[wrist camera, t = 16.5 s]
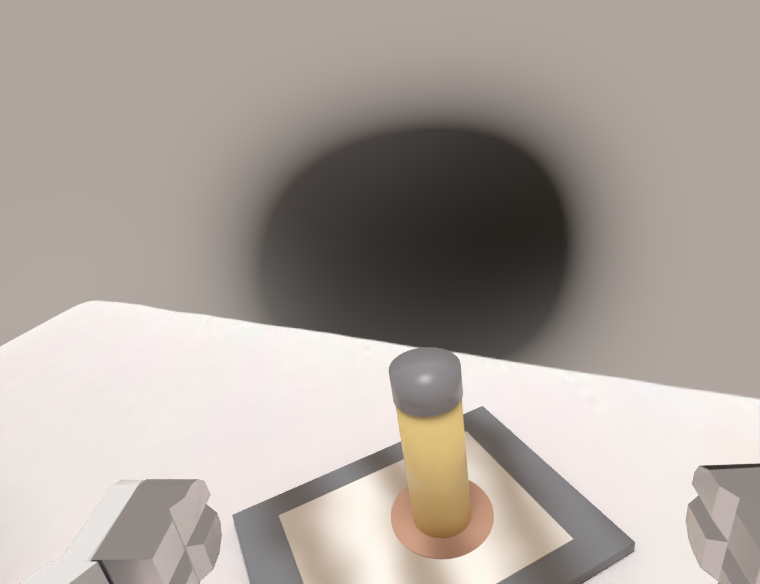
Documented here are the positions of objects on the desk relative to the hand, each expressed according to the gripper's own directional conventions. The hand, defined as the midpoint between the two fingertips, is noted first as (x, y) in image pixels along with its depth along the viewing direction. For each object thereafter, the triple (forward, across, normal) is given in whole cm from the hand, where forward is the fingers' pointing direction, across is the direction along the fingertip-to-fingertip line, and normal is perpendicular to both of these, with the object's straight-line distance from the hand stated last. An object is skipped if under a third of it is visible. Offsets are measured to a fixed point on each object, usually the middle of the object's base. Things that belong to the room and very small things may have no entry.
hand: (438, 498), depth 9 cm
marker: (+19, -1, -23) cm, 30 cm away
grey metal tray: (+18, -3, -24) cm, 30 cm away
